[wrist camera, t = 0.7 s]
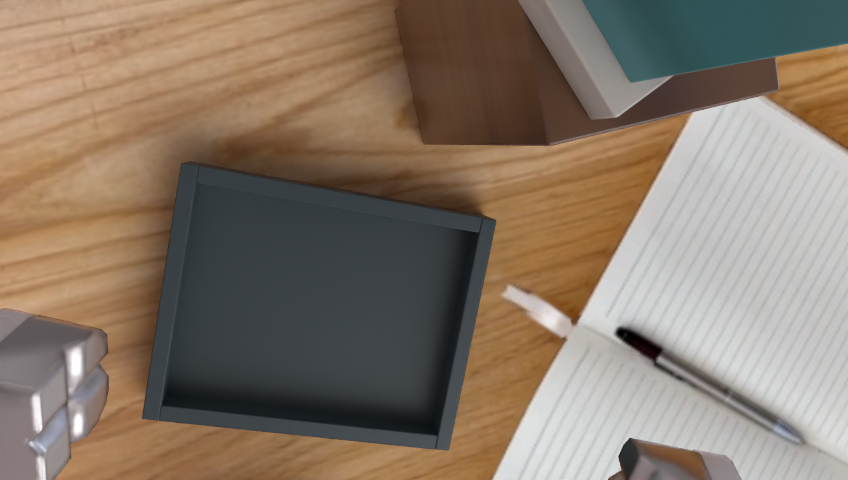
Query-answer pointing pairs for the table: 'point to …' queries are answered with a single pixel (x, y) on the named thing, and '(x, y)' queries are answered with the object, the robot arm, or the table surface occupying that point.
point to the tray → (314, 310)
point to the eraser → (672, 40)
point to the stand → (530, 79)
